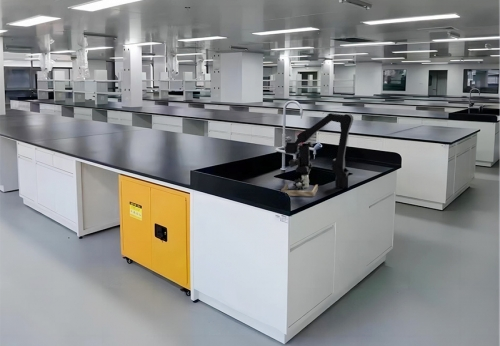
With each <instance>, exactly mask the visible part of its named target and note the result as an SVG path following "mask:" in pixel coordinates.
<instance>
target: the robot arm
mask: <svg viewBox="0 0 500 346" xmlns="http://www.w3.org/2000/svg"><path fill="white" fill-rule="evenodd" d="M331 122H335V123H339V124H340V125H339V127H340V134H339V142H338V145H337V146H338V148H337V153H336V158H334V159H332V161H331V162H332V163H331V168H332V169H331V170H332V172H333V173H334V174H335V178H334V179H335V181H334V185H335V188H336V189H349V188H350V184H349V177H350V176H349V173H350V170H349V169H348V168H347V167H346V158H345V157H346V151H347V146H348V140H349V132H350V130H351V128H352V125H353V124H354V123H353V122H354V116H353V114H350V113H345V114H339V113H338V114H337V113H333V112H330V113H328V114H327V115H326V116H325V117H323V118H322V119H320V120H319V121H318V122H316V123H315V124H314V125H312V126H311V127H309V128H307V129H305V130H303V131H301V132H299V133H298V134H297V139H296V140H295V141H294V142H293V141H292V142H291V141H286V143H285V147H284V152H285V155H297V153H298V156H297V158H296V159H290V160H289V161H288V166H289V167H290V168H291V169H292V168H294V167H296V168H295V172H296V173H300V174H301V176H302V175H309V174H310V171H311V168H313V162H312V161H310V158H311V155H310V147H313V146H314V144H313V143H311V141H310V140H311V138H313V137H314V135H315V134H316V133H317V132H318V131H320V130H321V129H323V128H324V127H326V126H327V125H328V124H329V123H331ZM309 167H310V168H309Z"/></svg>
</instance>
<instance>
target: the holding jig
mask: <svg viewBox="0 0 500 346" xmlns="http://www.w3.org/2000/svg"><path fill="white" fill-rule="evenodd" d="M318 185H319V184H315V185H314V187H313V189H312V190H300V191H298V190H290V189H289V183H286V184H285V185H284V186H283V187H282V188H281V189H280V191H283V192H285V193H287V194H288V195H289V196H290V197H315V195H316V194H317V191H318V189H319V186H318ZM280 191H279V192H280Z"/></svg>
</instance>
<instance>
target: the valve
mask: <svg viewBox="0 0 500 346" xmlns="http://www.w3.org/2000/svg"><path fill="white" fill-rule="evenodd" d="M309 176H310V175H309V174H308V175H302V174H301V178H297V179H294V183H292V185H293V186H295V187H294V190H297V191H304V189H305V188H306V189H307V188H309V187H310V185H309V183H310V179H309Z"/></svg>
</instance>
